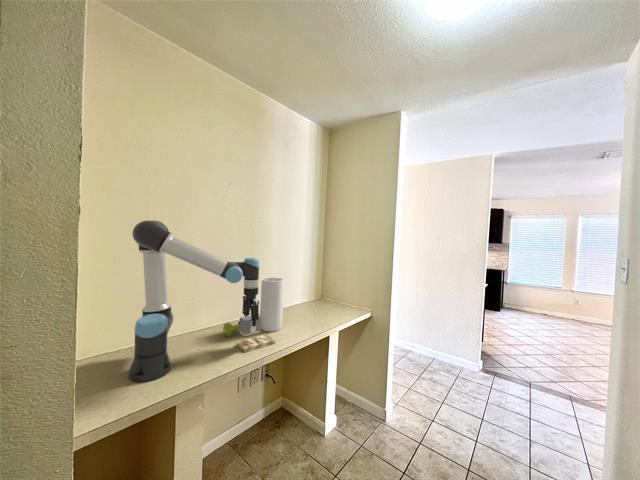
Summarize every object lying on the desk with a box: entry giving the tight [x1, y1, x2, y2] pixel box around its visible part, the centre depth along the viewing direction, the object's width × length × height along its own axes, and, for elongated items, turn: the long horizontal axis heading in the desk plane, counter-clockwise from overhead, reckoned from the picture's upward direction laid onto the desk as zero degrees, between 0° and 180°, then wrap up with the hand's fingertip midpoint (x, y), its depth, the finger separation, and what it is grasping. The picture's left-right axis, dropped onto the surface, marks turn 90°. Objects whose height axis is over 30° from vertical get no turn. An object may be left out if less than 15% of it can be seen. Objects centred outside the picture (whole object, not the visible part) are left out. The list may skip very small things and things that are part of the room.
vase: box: [259, 276, 285, 333], centre depth 168 cm, size 14×14×32 cm
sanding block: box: [239, 315, 261, 337], centre depth 141 cm, size 9×6×8 cm, turn 132°
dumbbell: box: [222, 322, 240, 338], centre depth 159 cm, size 16×8×7 cm, turn 135°
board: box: [236, 333, 276, 353], centre depth 144 cm, size 18×10×2 cm, turn 132°
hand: (249, 329), depth 141 cm, fingers closed on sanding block, 6 cm apart
